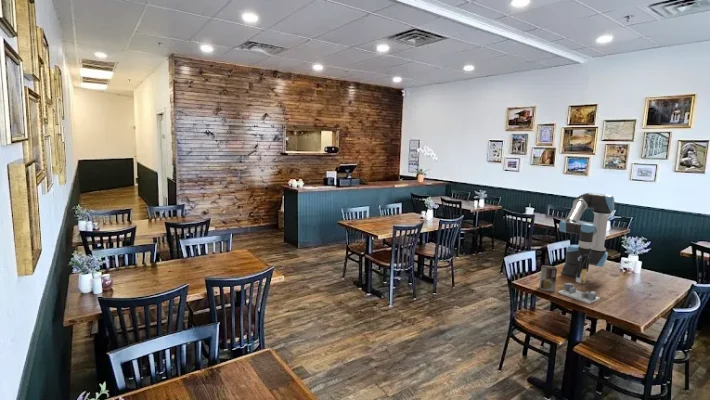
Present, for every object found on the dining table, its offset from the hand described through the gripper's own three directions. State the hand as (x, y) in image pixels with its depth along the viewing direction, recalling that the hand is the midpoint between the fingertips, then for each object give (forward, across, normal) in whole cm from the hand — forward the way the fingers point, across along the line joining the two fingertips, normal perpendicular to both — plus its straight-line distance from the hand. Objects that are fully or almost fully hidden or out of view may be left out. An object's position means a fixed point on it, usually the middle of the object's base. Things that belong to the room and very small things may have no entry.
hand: (580, 281), depth 257 cm
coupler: (0, 0, 0) cm, 0 cm away
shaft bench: (+10, 0, 0) cm, 10 cm away
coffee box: (+11, -7, +18) cm, 22 cm away
